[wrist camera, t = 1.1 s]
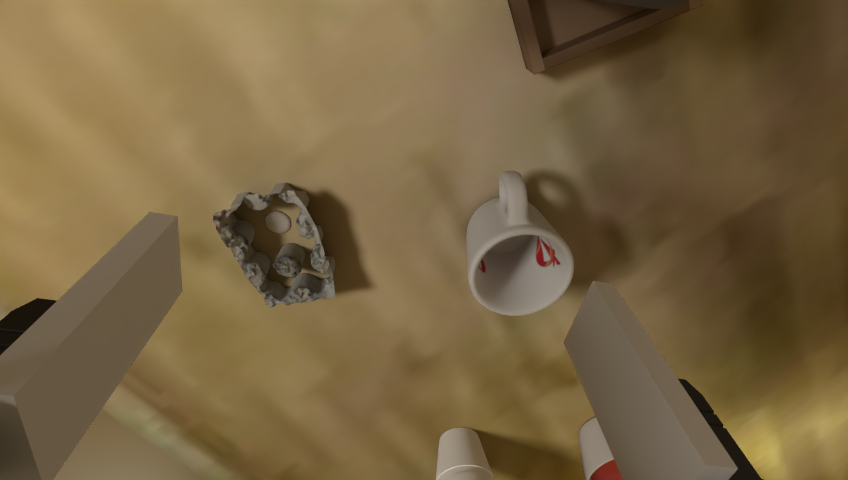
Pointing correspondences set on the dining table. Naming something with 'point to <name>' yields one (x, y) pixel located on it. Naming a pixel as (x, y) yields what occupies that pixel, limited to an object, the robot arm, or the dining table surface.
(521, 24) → the caddy
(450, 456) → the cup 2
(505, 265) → the cup
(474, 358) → the dining table surface
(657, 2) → the pepper mill
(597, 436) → the candle
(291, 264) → the egg carton
